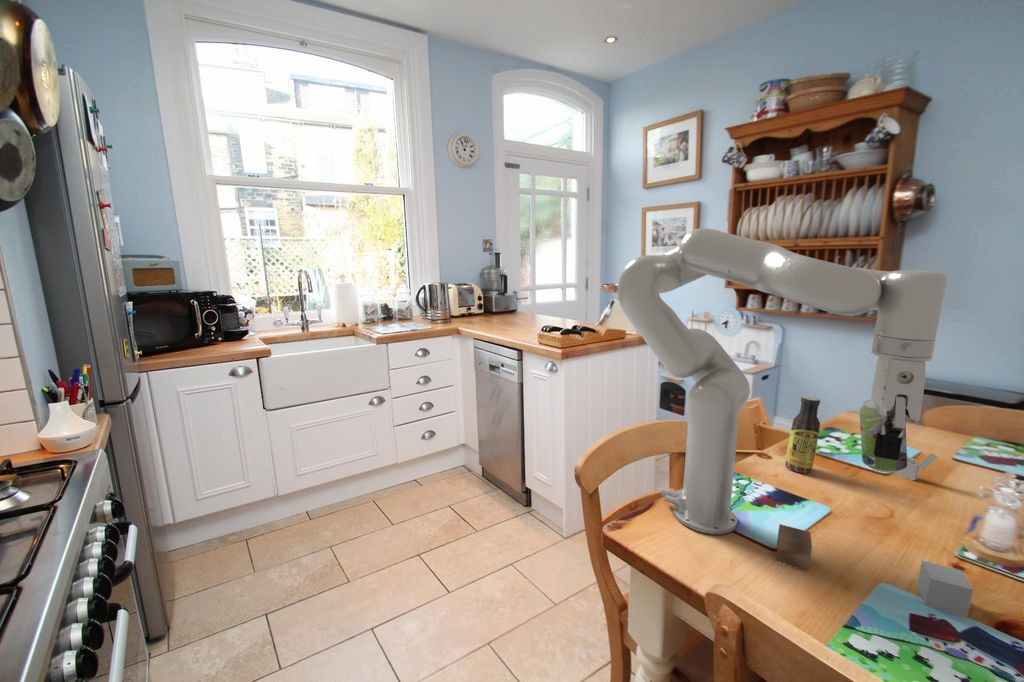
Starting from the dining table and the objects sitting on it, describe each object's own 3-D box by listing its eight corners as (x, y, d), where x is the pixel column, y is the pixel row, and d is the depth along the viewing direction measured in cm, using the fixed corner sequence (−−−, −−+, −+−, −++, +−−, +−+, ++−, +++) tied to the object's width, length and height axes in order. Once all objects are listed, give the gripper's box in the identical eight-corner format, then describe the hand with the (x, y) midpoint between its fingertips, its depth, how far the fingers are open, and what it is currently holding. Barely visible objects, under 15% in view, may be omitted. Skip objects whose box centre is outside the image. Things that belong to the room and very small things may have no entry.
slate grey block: (925, 605, 73) (930, 578, 72) (916, 586, 78) (921, 560, 77) (966, 617, 71) (973, 589, 70) (955, 597, 75) (961, 570, 74)
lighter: (894, 474, 117) (899, 445, 115) (897, 473, 118) (902, 444, 116) (930, 486, 111) (936, 456, 109) (932, 484, 112) (938, 454, 110)
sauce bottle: (787, 472, 118) (796, 399, 114) (782, 462, 124) (791, 392, 120) (816, 476, 116) (827, 402, 112) (810, 466, 121) (820, 395, 118)
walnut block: (776, 562, 83) (779, 537, 82) (776, 547, 88) (779, 524, 87) (808, 571, 81) (812, 546, 80) (806, 555, 85) (810, 532, 84)
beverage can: (914, 478, 75) (926, 410, 72) (864, 475, 76) (874, 408, 74) (891, 460, 81) (901, 397, 78) (845, 457, 82) (854, 395, 80)
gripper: (950, 360, 64) (926, 479, 68) (918, 341, 78) (899, 440, 82) (883, 354, 68) (863, 467, 71) (864, 337, 82) (848, 432, 85)
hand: (883, 452), depth 76 cm, fingers closed on beverage can, 3 cm apart
